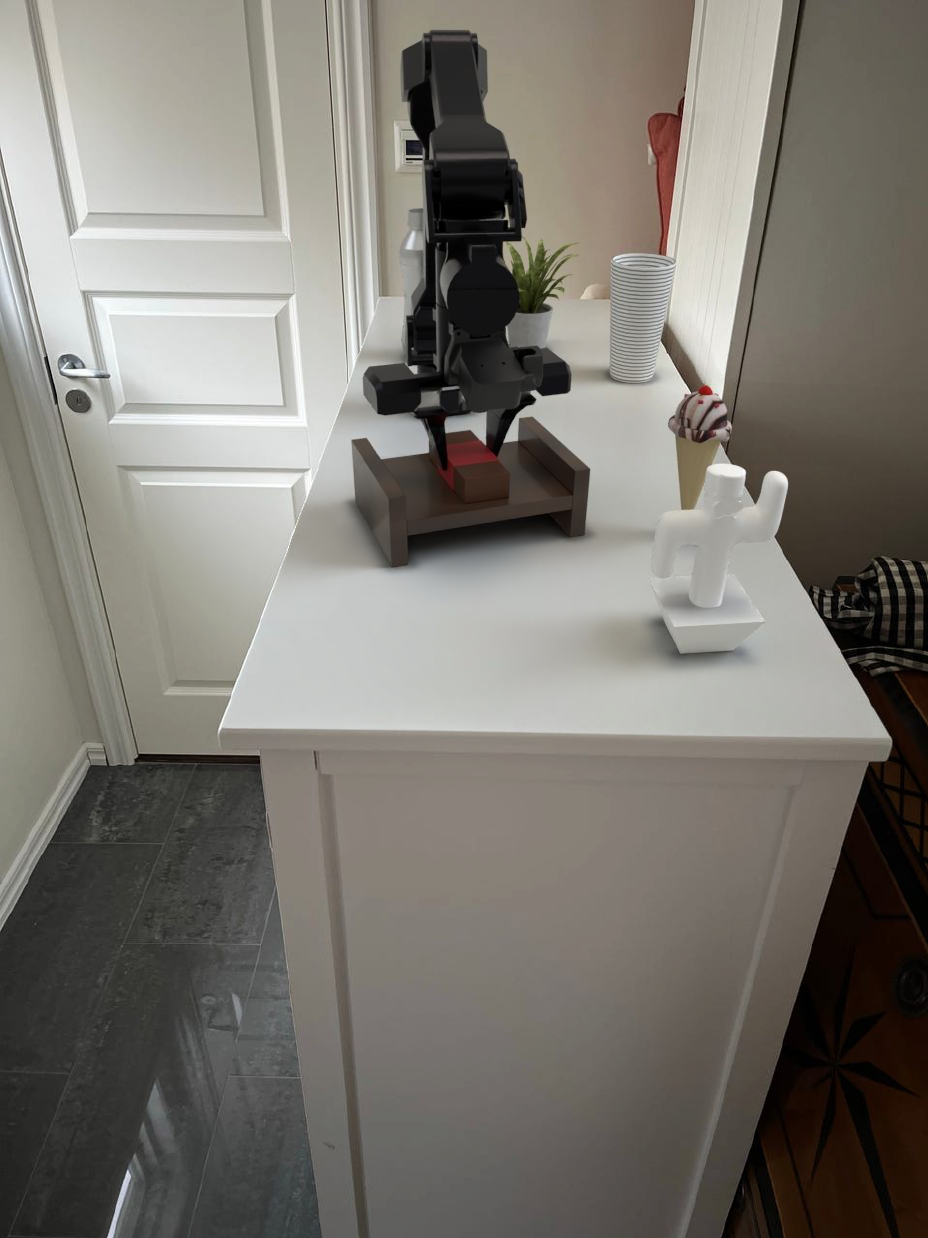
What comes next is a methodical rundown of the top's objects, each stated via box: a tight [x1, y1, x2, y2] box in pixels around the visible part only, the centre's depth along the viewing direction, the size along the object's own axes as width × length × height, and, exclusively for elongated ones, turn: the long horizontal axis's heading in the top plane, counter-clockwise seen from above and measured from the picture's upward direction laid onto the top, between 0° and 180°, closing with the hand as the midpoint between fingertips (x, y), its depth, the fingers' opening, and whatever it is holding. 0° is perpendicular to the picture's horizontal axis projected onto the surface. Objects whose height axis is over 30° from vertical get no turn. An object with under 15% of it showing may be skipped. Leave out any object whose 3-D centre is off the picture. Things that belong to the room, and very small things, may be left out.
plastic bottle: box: [398, 207, 424, 355], centre depth 130 cm, size 6×7×20 cm
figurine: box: [648, 463, 789, 655], centre depth 72 cm, size 7×9×15 cm
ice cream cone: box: [667, 384, 733, 510], centre depth 87 cm, size 6×6×15 cm
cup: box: [609, 252, 678, 384], centre depth 125 cm, size 8×8×16 cm
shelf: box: [350, 416, 591, 568], centre depth 92 cm, size 14×20×7 cm
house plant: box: [505, 235, 579, 348], centre depth 135 cm, size 14×14×16 cm
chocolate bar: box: [428, 429, 510, 504], centre depth 90 cm, size 11×5×3 cm, turn 19°
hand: (467, 465), depth 91 cm, fingers closed on chocolate bar, 4 cm apart
